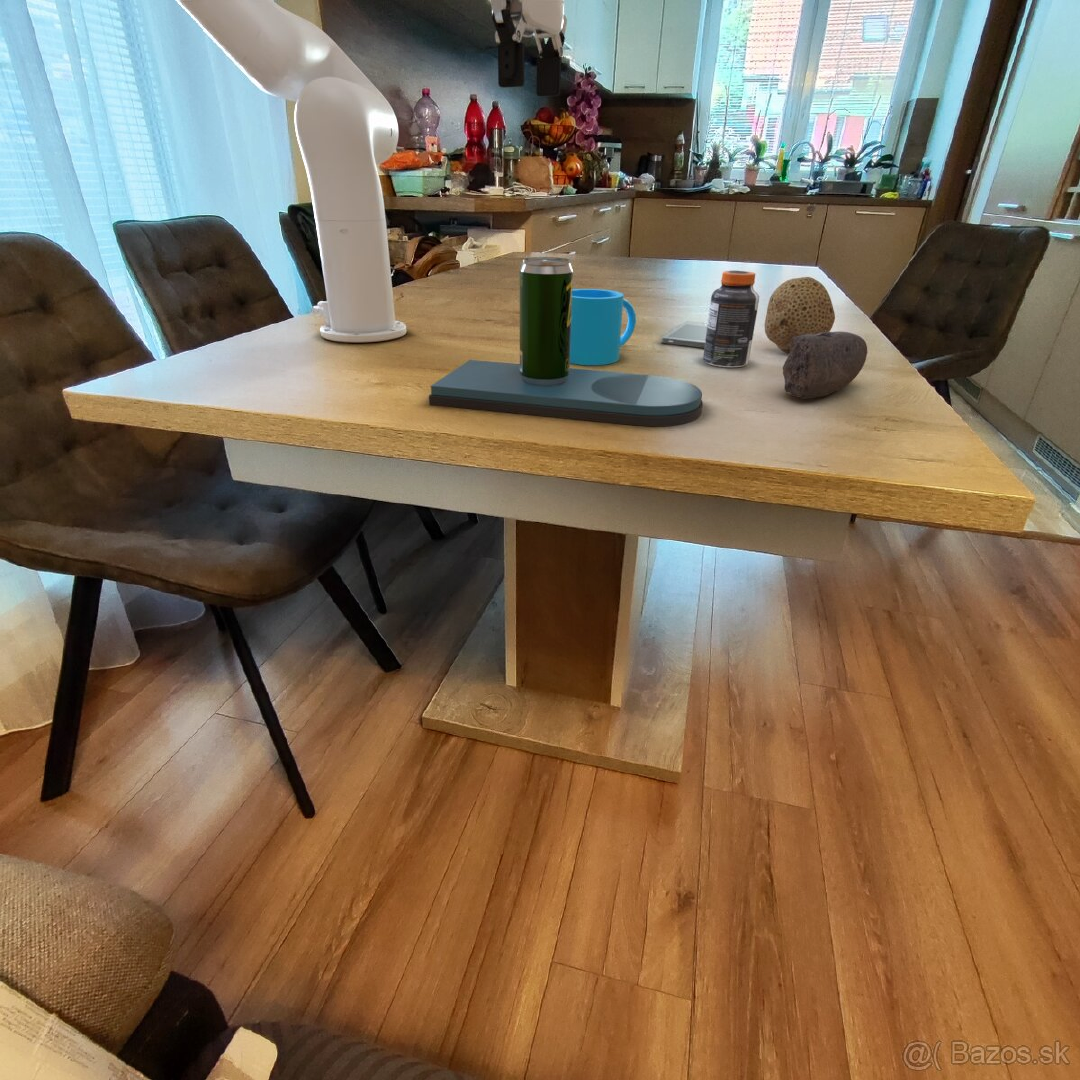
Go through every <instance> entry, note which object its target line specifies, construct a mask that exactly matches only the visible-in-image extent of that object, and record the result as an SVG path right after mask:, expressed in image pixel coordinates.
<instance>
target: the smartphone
mask: <svg viewBox="0 0 1080 1080" xmlns="http://www.w3.org/2000/svg"><path fill="white" fill-rule="evenodd" d="M707 325H708V322H702V321H694V320H693V321H692V320H686V321H685V322H683V323H682V324H680V325H678V326H676V327H675V328H674V329H672V330H671V331H669V332H668V333H666V334H665V335H663V336H662V338H661V343H663V344H669V345H670V344H671V345H680V346H687V347H695V348H704V347H705V339H706V332H707Z"/></svg>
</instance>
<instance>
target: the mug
mask: <svg viewBox="0 0 1080 1080" xmlns="http://www.w3.org/2000/svg"><path fill="white" fill-rule="evenodd" d="M624 296H625V295H624V293H623V292H621V291H617V290H610V289H600V288H573V290H572V316H571V341H570V364H574V365H581V366H604V365H610V364H614V363H616V362H618V361H619V359H620V348H621V347H622V346H624V345H626V343H627V342H628V341H629V340H630V338H631V337H632V336H633V333H634V331H635V328H636V323H637V317H636V312H635V309H634V306H633V305H632V304H631V303H630V302H629V301H628V300H627V299H625V298H624ZM623 308H624V309H625V311H626V313H627V324H626V328H625V330H624V332H623V334H622V335H621V333H622V322H623Z"/></svg>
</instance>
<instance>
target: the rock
mask: <svg viewBox="0 0 1080 1080" xmlns="http://www.w3.org/2000/svg"><path fill="white" fill-rule="evenodd" d="M867 355H868V346H867V342H866V341H865V339H863V338H862V337H861V336H860V335H858V334H856V333H852V332H848V331H830V332H821V333H818V334H815V335H813V334H807V335H802V336H798V337H794V338H793V339H792V343H791V351H790V352H789V353H788V356H787V358H786V360H785V361H784V363H783V365H782V375H783V378H784V390H785V392H786V393H788V394H790V396H793V397H796V398H800V399H814V398H817V399H818V398H821V397H822V398H823V397H825V396H828V395H830V394H832V393H835V392H837V391H839V390H841V389H843V388H845V387H846V386H848V385H850V384H851V383H852V382H853V381H854V380H855V379H856V377H857V376H858V375H859V374H860V373H861V371H862V369H863V367H864V366H865V363H866V360H867Z"/></svg>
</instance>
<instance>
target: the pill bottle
mask: <svg viewBox="0 0 1080 1080" xmlns="http://www.w3.org/2000/svg"><path fill="white" fill-rule="evenodd" d="M755 281H756V272H753V271H746V270H724V271H722V275H721V280H720V283H721V286H720V287H719V288H716V289H715V290H714V291H713V292H712V293H711V297H710V304H709V311H708V316H707V317H708V318H707V323H708V325H707V332H706V339H705V347H703V355H702V361H703V362H705V363H706V364H708V365H710V366H714V367H720V368H741V367H744V366H747V365H748V364H749V361H750V355H751V349H752V344H753V338H754V332H755V327H756V321H757V315H758V310H759V309H758V308H759V303H760V294H759V293H758V291H756V290H755V289H754V285H755Z"/></svg>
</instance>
